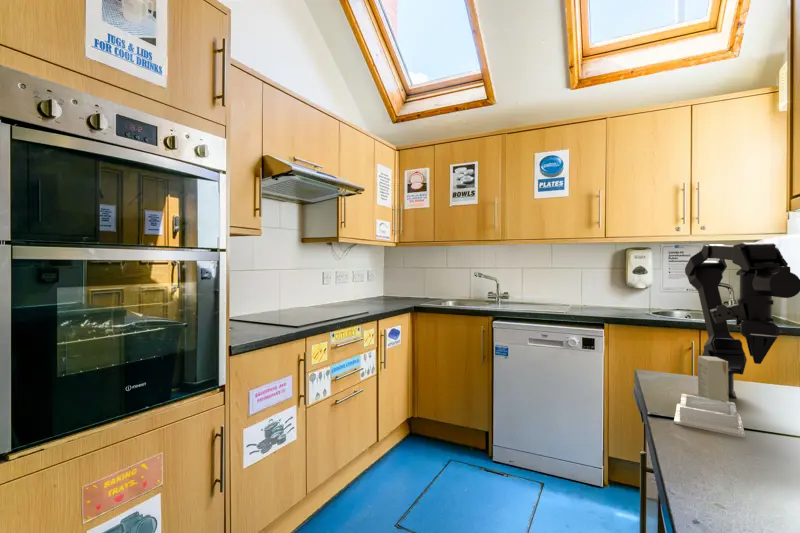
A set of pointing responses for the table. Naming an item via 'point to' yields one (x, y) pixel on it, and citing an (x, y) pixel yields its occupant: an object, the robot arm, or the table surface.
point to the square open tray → (709, 415)
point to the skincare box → (713, 378)
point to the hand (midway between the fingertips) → (755, 359)
